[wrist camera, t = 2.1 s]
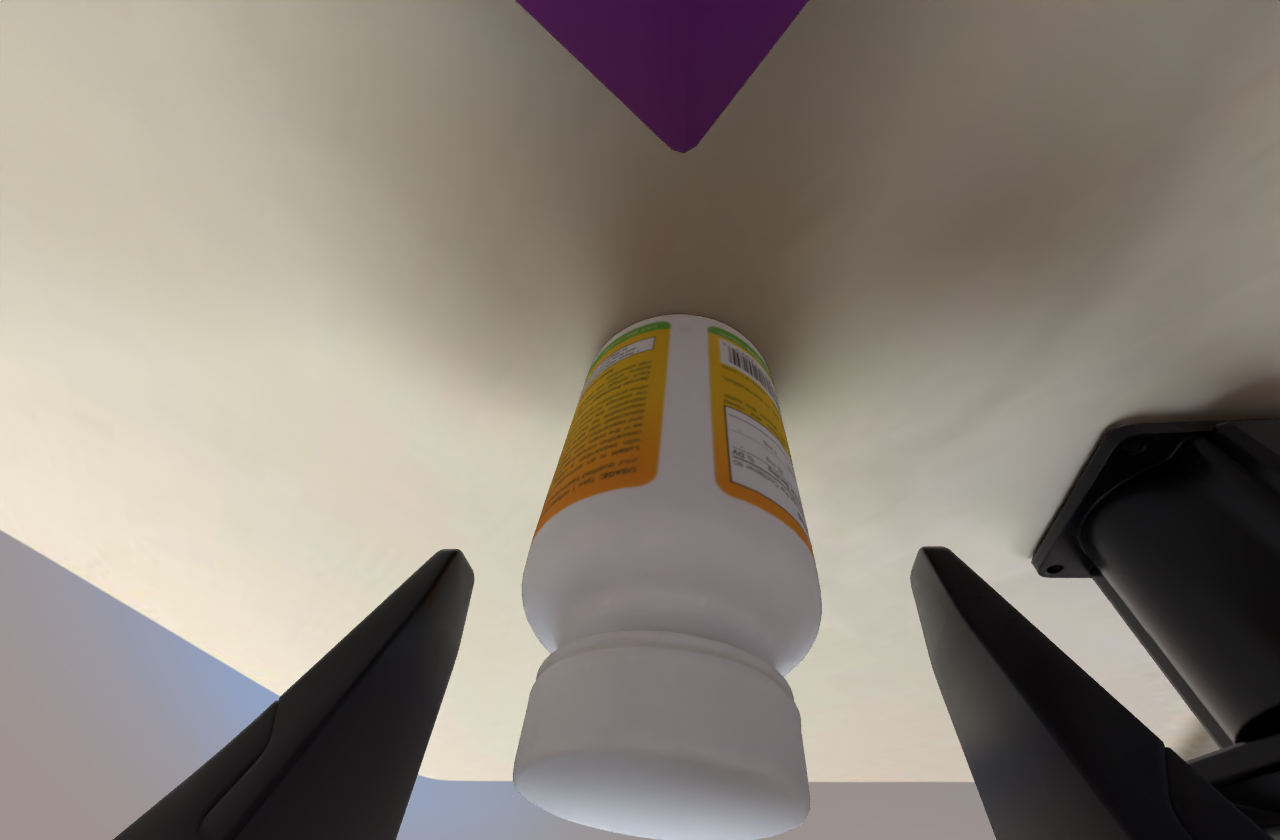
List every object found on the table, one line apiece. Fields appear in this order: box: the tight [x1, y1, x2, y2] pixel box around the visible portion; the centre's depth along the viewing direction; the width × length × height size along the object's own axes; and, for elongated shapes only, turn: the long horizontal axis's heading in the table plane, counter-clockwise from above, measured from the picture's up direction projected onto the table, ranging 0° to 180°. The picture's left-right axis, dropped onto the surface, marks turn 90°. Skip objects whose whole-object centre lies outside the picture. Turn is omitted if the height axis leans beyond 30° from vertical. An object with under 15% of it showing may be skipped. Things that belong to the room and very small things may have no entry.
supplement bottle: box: [513, 314, 822, 840], centre depth 10 cm, size 5×5×10 cm
